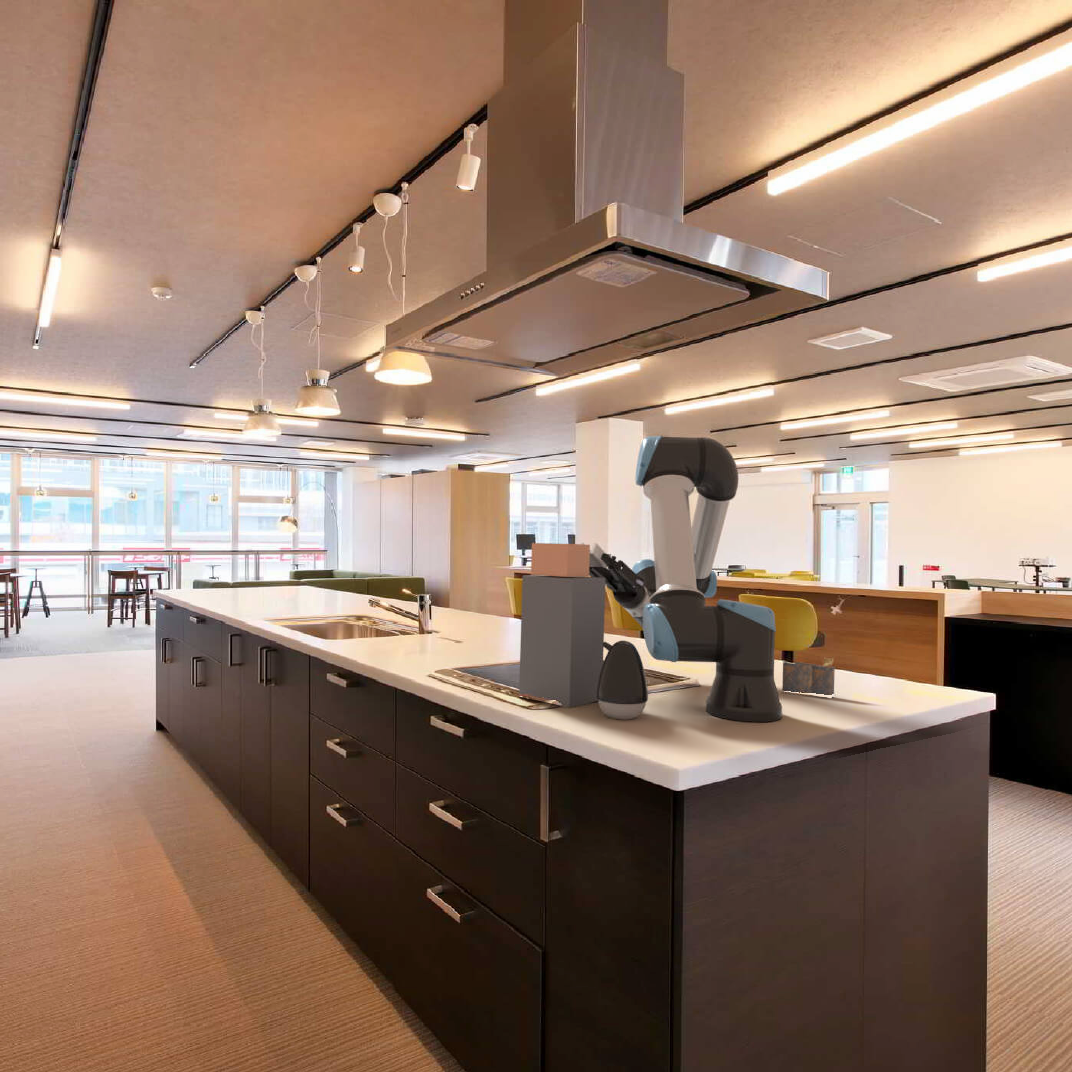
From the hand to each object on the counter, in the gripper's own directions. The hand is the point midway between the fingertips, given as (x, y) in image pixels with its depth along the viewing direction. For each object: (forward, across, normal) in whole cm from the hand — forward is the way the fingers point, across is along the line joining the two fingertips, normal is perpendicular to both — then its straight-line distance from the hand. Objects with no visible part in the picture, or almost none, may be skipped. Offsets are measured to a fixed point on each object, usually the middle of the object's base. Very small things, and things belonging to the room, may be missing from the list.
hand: (586, 548), depth 168 cm
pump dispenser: (-6, -19, -36) cm, 41 cm away
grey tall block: (-10, 0, -33) cm, 35 cm away
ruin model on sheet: (-52, -37, -9) cm, 65 cm away
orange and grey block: (0, 0, -7) cm, 7 cm away
